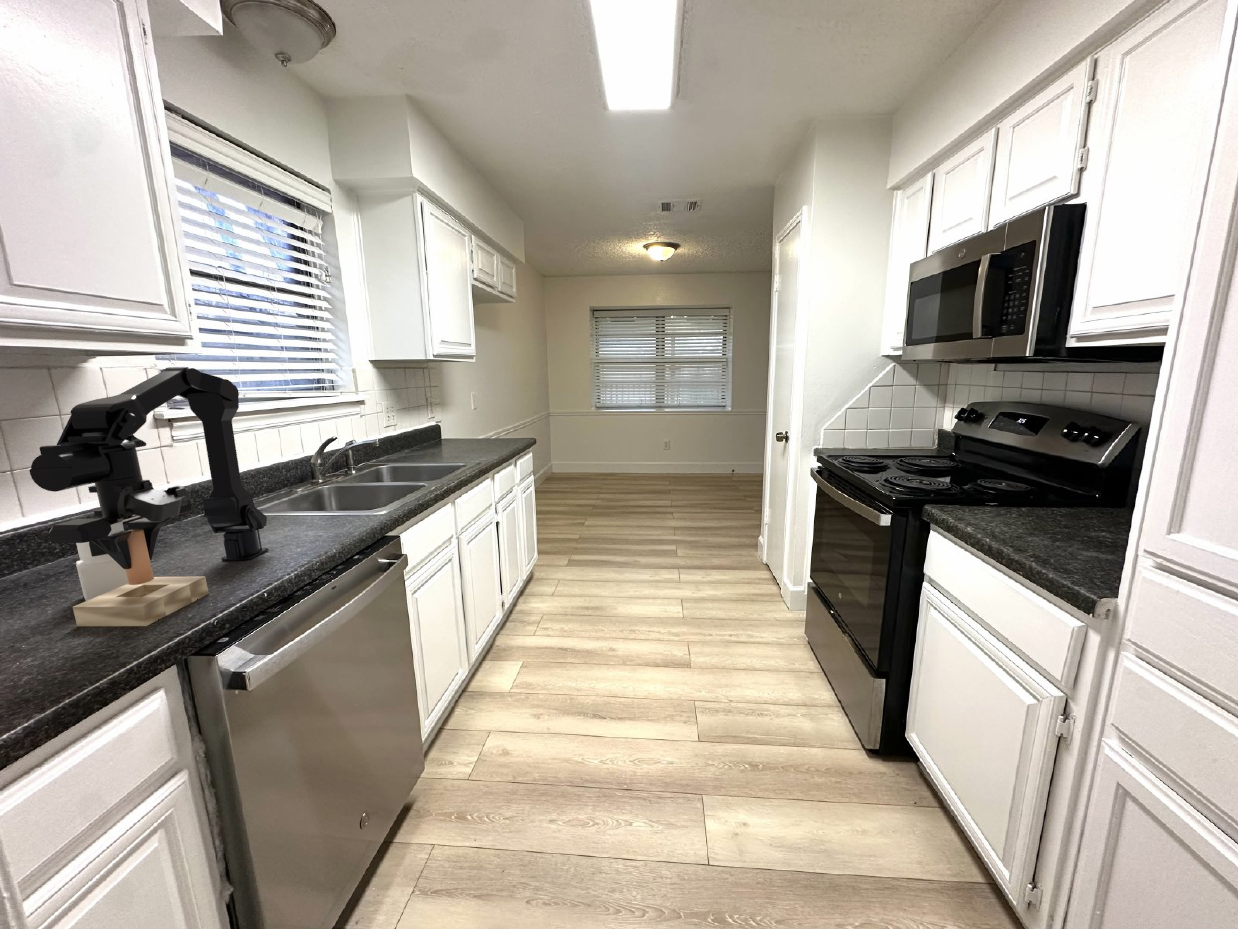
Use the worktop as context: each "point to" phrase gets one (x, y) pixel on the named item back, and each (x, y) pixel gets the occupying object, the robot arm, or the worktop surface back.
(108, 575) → the medicine bottle
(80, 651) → the worktop surface
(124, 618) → the socket block
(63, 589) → the worktop surface
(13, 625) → the worktop surface
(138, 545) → the peg
